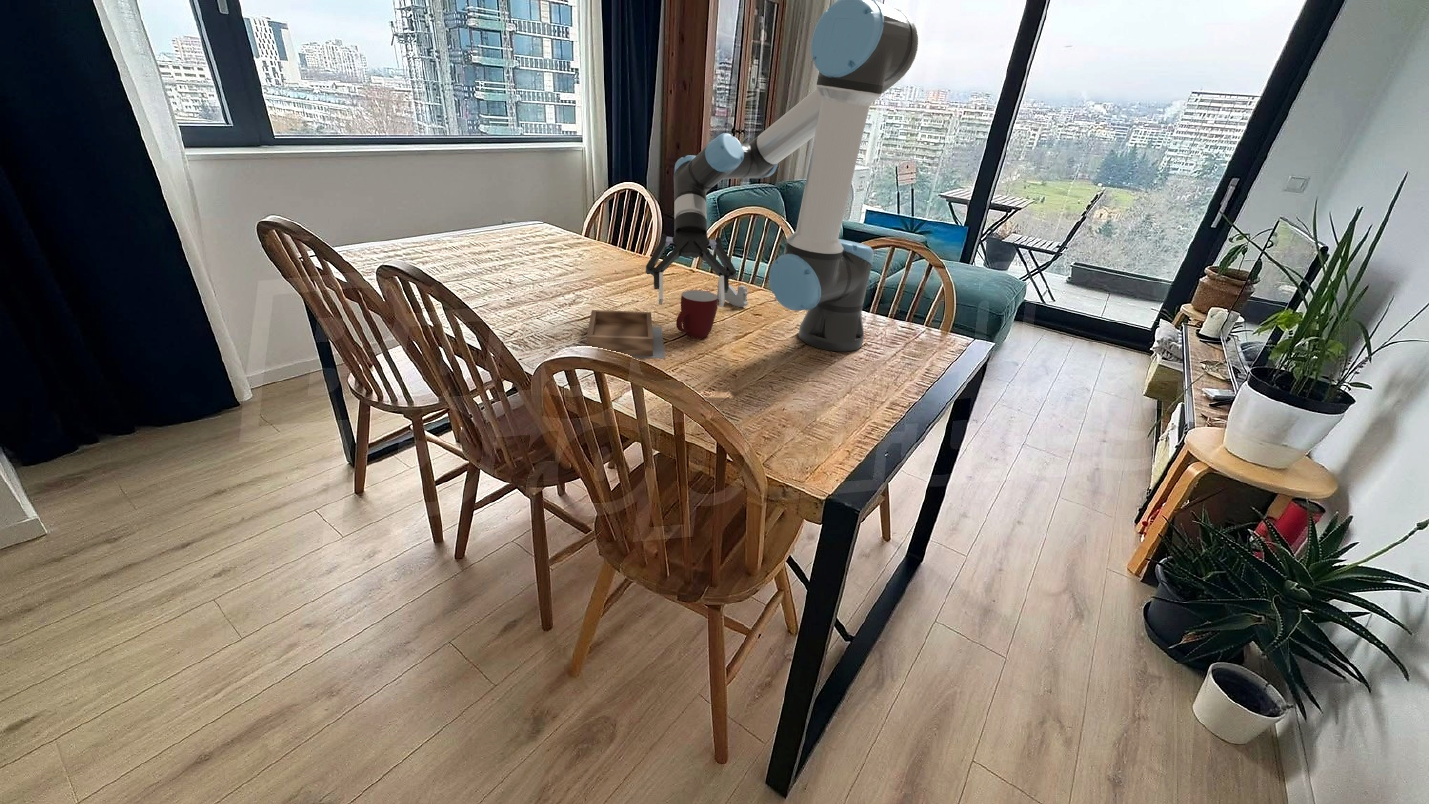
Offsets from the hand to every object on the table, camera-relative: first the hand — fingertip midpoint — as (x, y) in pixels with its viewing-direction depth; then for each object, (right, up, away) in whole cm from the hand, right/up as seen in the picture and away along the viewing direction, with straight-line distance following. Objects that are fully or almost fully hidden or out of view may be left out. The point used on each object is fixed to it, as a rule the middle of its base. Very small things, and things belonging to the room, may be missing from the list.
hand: (691, 303), depth 126 cm
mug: (0, -8, +2) cm, 8 cm away
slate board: (-14, -9, -4) cm, 17 cm away
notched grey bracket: (+10, +4, +28) cm, 30 cm away
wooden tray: (-15, -9, -4) cm, 18 cm away
